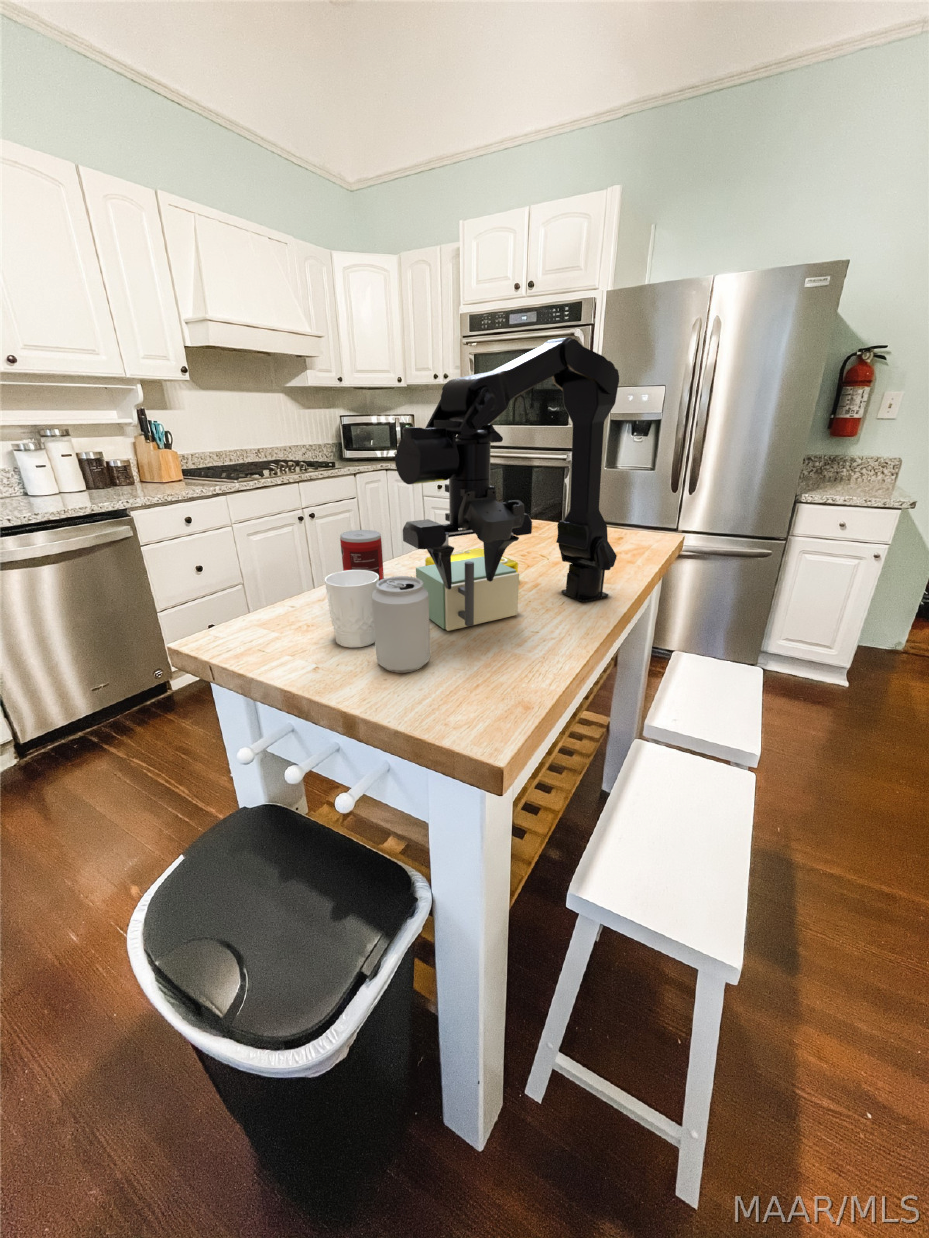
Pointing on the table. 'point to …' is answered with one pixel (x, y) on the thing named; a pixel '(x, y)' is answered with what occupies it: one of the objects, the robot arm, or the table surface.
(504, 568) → the mini fridge
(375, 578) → the white cup
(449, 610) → the fridge door
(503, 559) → the element tile
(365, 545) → the canned food
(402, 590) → the can
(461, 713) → the table surface
